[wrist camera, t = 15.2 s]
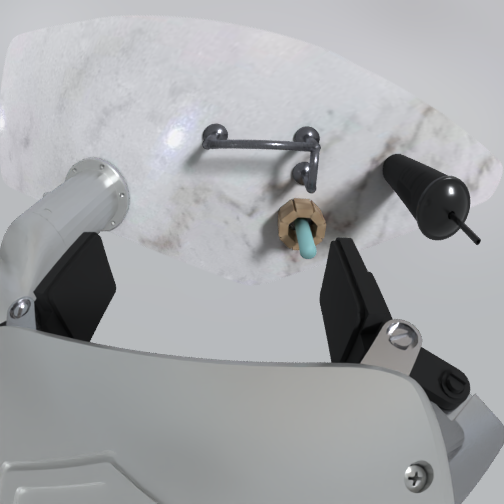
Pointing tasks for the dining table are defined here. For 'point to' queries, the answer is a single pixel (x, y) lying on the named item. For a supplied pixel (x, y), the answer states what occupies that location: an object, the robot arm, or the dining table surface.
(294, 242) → the ring
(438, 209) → the drinking cup
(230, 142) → the corner grab bar
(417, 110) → the dining table surface
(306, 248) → the peg
